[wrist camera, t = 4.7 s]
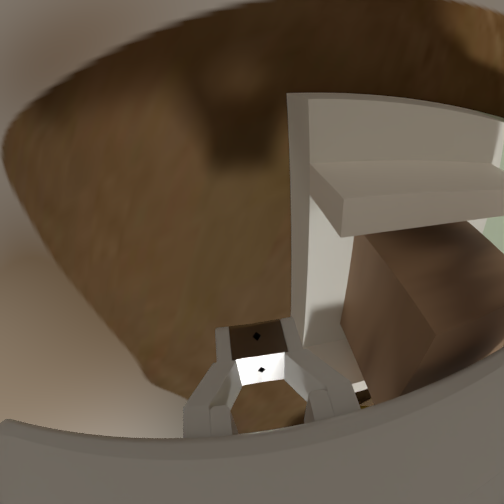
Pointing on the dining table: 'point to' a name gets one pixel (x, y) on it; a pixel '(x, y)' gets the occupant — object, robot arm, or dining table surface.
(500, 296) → the walnut block
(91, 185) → the dining table surface
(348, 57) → the dining table surface
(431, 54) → the dining table surface
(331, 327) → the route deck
